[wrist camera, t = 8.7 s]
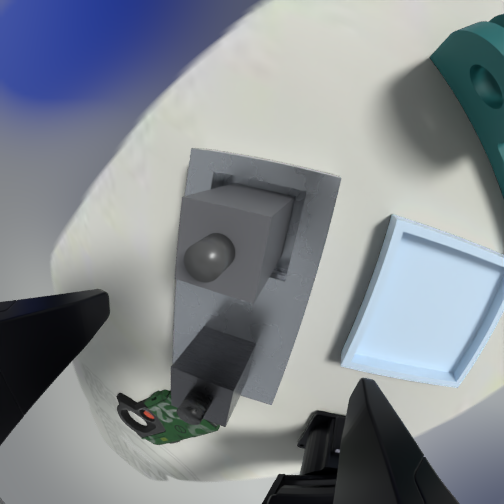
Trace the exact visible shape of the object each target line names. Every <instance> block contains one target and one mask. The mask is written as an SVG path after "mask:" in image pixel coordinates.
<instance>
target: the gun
mask: <svg viewBox="0 0 504 504" xmlns="http://www.w3.org/2000/svg"><path fill="white" fill-rule="evenodd" d="M116 397H117V400H118V402H119V405H118V407H117V411H118V414H119V416H120V418H121V419H122V421H123V422H124V423H125V424H126V425H127V426H129V427H130V428H131V429H132V430H134V431H135V432H137V434H138V435H139V436H140V437H142V439H146V440H148V441H150V442H151V443H153V444H156V445H162V444H166V443H171V444H172V443H176V442H180V440H183V439H187V438H191V437H196V436H200V435H204V434H208V433H211V432H215V431H218V429H219V427H220V425H218V424H216V423H213V422H210V421H208V420H205V419H203V420H202V421H201V423H200V424H199V425H191V424H188V423H186V422H184V421H183V420H182V419H180V418H179V416H178V415H177V412H176V411H177V409H178V408H177V407H174V406H172V405H171V391H169V390H162V391H157V392H155V393H153V395H152V396H151V397H149V398H147V399H146V400H143V401H140V402H138V403H137V402H135V401H133V400H132V399H131V398H129V397H127V396H126V395H124V394H122V393H119V394H118V395H117V396H116ZM127 410H129V411H132V412H133V413H135V414H137V415H138V416H139V417H141V418H142V419H144V420H145V422H146V423H147V426H144V425H141V424H139V423H138V422H136V421H135V420H134V419H133V418H132V417H131V416H130V415H129V413H128V411H127Z"/></svg>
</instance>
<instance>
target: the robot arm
mask: <svg viewBox="0 0 504 504" xmlns="http://www.w3.org/2000/svg"><path fill="white" fill-rule="evenodd" d="M109 314H110V307H109V296H108V293H107V292H105V291H103V290H100V289H94V290H87V291H80V292H73V293H66V294H58V295H51V296H44V297H37V298H29V299H21V300H17V301H16V300H13V301H5V302H0V445H1V444H2V443H3V442H4V440H5V439H6V438H7V437H8V435H9V434H10V433H11V431H12V430H13V429H14V428H15V427H16V425H17V424H18V423H19V422H20V420H21V419H22V418H23V417H24V415H25V414H26V413H27V412H28V410H29V409H30V408H31V407H32V406H33V405H34V403H35V402H36V401H37V400H38V399H39V398H40V396H41V395H42V394H43V393H44V392H45V391H46V389H47V388H48V387H49V386H50V385H51V384H52V382H54V380H55V379H56V378H57V377H58V376H59V375H60V374H61V373H62V371H63V370H64V369H65V368H66V367H67V366H68V365H69V363H71V362H72V361H73V359H74V358H75V357H76V356H77V355H78V354H79V353H80V352H81V351H82V350H83V349H84V348H85V346H86V345H87V344H88V343H89V342H90V340H91V339H92V338H93V336H94V335H95V334H96V332H97V331H98V330H99V329H100V327H101V326H102V325H103V323H104V322H105V321H106V320H107V318H108V317H109ZM297 446H298V447H300V448H304V449H305V453H304V457H303V462H302V466H301V471H300V475H285V474H279V475H278V476H277V478H276V480H275V481H274V483H273V485H272V487H271V488H270V490H269V492H268V494H267V496H266V497H265V499H264V501H263V503H262V504H459V502H458V501H457V500H456V499H455V497H454V496H453V495H452V494H451V492H450V491H449V490H448V489H447V487H446V486H445V485H444V484H443V482H442V481H441V479H440V478H439V477H438V475H437V474H436V472H435V471H434V469H433V468H432V467H431V465H430V463H429V462H428V460H427V459H426V457H424V454H423V453H422V451H421V450H420V448H419V447H418V445H417V443H416V442H415V441H414V439H413V437H412V436H411V434H410V433H409V431H408V430H407V428H406V427H405V425H404V424H403V422H402V421H401V419H400V418H399V416H398V415H397V413H396V412H395V410H394V409H393V407H392V406H391V404H390V403H389V401H388V400H387V398H386V397H385V395H384V394H383V392H382V391H381V390H380V388H379V387H378V385H377V384H376V382H375V381H374V380H372V379H367V378H361V379H360V380H359V382H358V384H357V386H356V387H355V389H354V391H353V393H352V394H351V397H350V399H349V404H348V409H347V414H346V417H345V416H340V415H335V414H331V413H326V412H321V411H318V412H316V413H315V414H314V416H313V418H312V419H311V421H310V423H309V425H308V426H307V428H306V430H305V431H304V433H303V435H302V436H301V438H300V440H299V441H298V444H297ZM0 504H5V503H4V502H3V501H2V499H1V498H0Z"/></svg>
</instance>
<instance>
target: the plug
mask: <svg viewBox="0 0 504 504" xmlns="http://www.w3.org/2000/svg"><path fill="white" fill-rule="evenodd" d="M294 198H295V196H291V195H287V194H283V193H278V192H274V191H269V190H265V189H260V188H256V187H251V186H246V185H241V184H236V183H234V184H230V185H226V186H222V187H218V188H214V189H210V190H206V191H202V192H198V193H195V194H191V195H187V196H184V197H182V205H181V214H180V224H179V234H178V245H177V257H176V271H175V279H177V280H180V281H183V282H186V283H189V284H192V285H195V286H198V287H202V288H205V289H208V290H211V291H214V292H217V293H220V294H223V295H227V296H230V297H233V298H236V299H240V300H243V301H246V302H250V303H253V304H254V303H255V301H256V299H257V297H258V296H259V294H260V292H261V291H262V289H263V287H264V285H265V284H266V282H267V280H268V279H269V277H270V275H271V273H272V272H273V270H274V268H275V266H276V265H277V263H278V261H279V259H280V258H281V256H282V253H283V249H284V244H285V240H286V235H287V231H288V226H289V222H290V217H291V212H292V208H293V203H294Z"/></svg>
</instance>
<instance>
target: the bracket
mask: <svg viewBox="0 0 504 504" xmlns="http://www.w3.org/2000/svg"><path fill="white" fill-rule="evenodd" d="M430 59H431V60H432V62H433V63H434V64H435V66H436V67H437V68H438V70H439V71H440V73H441V74H442V76H443V77H444V79H445V80H446V82H447V83H448V85H449V86H450V88H451V89H452V91H453V92H454V94H455V96H456V97H457V99H458V101H459V102H460V104H461V106H462V107H463V109H464V111H465V113H466V114H467V116H468V118H469V120H470V122H471V124H472V125H473V127H474V129H475V131H476V133H477V135H478V137H479V139H480V141H481V143H482V146H483V148H484V150H485V152H486V154H487V157H488V159H489V161H490V163H491V166H492V168H493V171H494V173H495V176H496V178H497V181H498V184H499V186H500V189H501V192H502V195H503V198H504V14H501V15H498V16H496V17H494V18H493V19H491V20H490V21H489V22H486V21H485V22H478V23H475V24H473V25H470V26H467V27H465V28H462V29H460V30H457V31H455V32H453V33H452V34H450V35H449V37H448V38H447V39H446V40H445V41H444V42H443V43H442V44H441V45H440V46H439V48H438V49H437V50H436V51H435V52H434V53H433V54H432V55H431V56H430Z"/></svg>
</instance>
